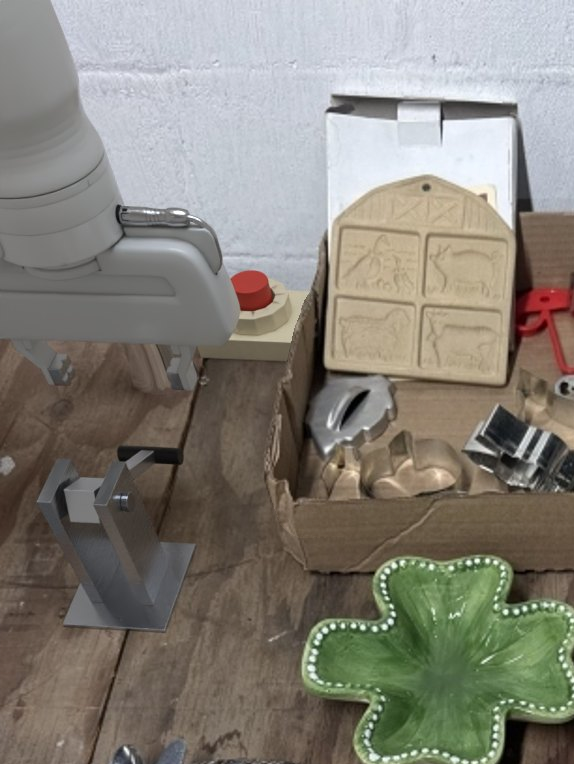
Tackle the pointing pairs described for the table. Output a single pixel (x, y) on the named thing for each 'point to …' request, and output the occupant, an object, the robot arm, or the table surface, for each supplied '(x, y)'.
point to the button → (252, 290)
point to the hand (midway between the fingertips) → (124, 383)
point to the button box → (263, 329)
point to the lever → (87, 489)
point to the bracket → (115, 555)
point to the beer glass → (150, 367)
